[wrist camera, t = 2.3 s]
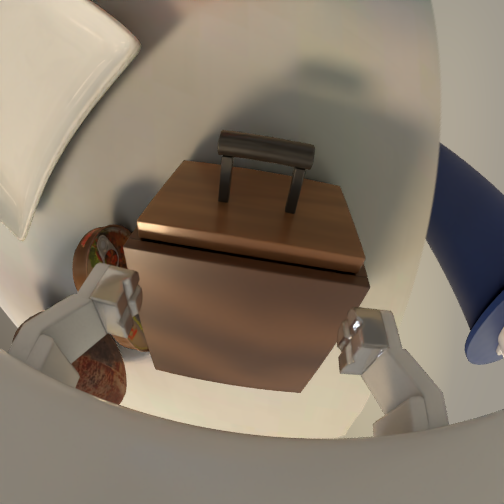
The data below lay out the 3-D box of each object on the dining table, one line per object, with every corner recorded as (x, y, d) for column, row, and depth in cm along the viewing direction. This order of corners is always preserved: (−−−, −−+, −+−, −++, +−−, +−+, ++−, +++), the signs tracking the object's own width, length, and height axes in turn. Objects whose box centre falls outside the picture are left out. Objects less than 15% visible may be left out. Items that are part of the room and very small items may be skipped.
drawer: (186, 107, 18) (129, 143, 11) (355, 135, 18) (397, 187, 12) (184, 281, 29) (160, 351, 23) (300, 300, 30) (301, 374, 23)
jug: (146, 332, 39) (97, 488, 19) (132, 375, 51) (100, 480, 32) (28, 270, 34) (-45, 398, 15) (43, 330, 46) (0, 425, 27)
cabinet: (179, 168, 22) (122, 246, 14) (341, 195, 22) (371, 287, 14) (182, 288, 32) (155, 369, 23) (299, 308, 32) (300, 393, 24)
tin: (174, 309, 34) (155, 366, 28) (153, 309, 35) (132, 364, 28) (121, 207, 25) (77, 263, 19) (99, 212, 26) (54, 266, 19)
